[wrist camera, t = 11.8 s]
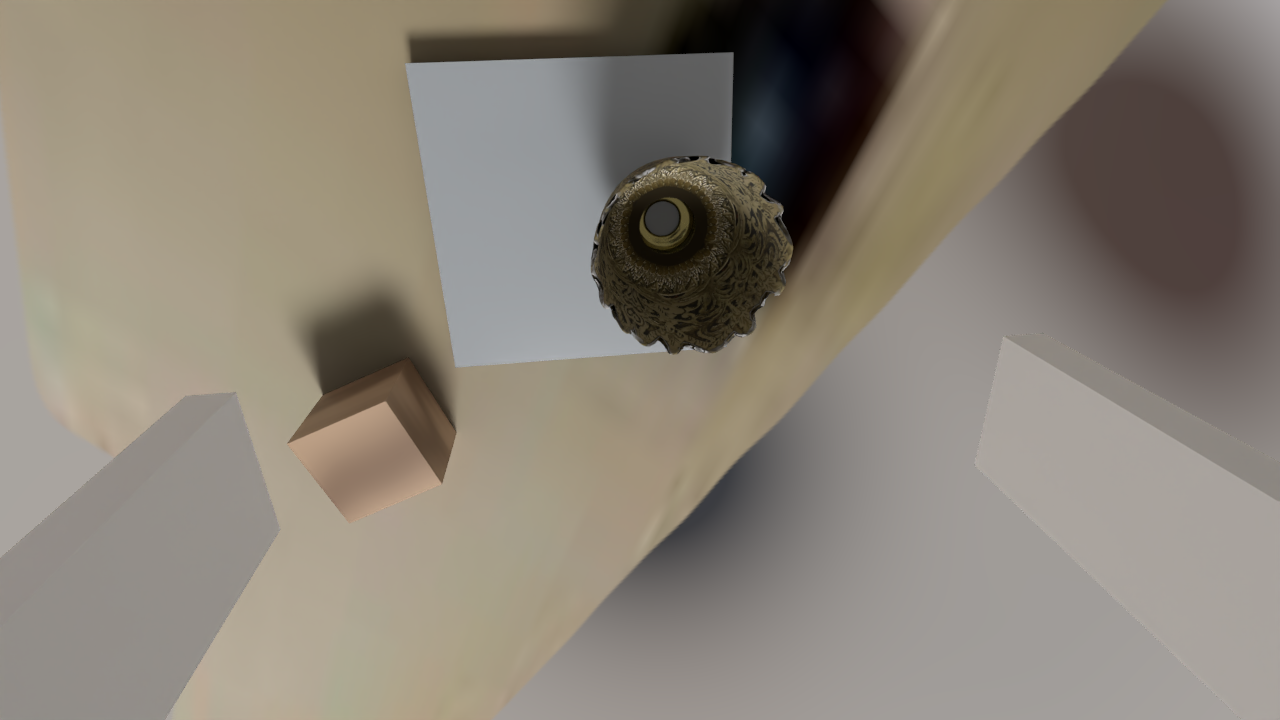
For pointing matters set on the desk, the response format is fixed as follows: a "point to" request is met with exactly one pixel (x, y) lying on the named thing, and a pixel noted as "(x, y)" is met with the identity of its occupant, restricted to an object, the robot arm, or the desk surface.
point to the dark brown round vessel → (690, 253)
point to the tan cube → (376, 441)
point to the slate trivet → (550, 186)
